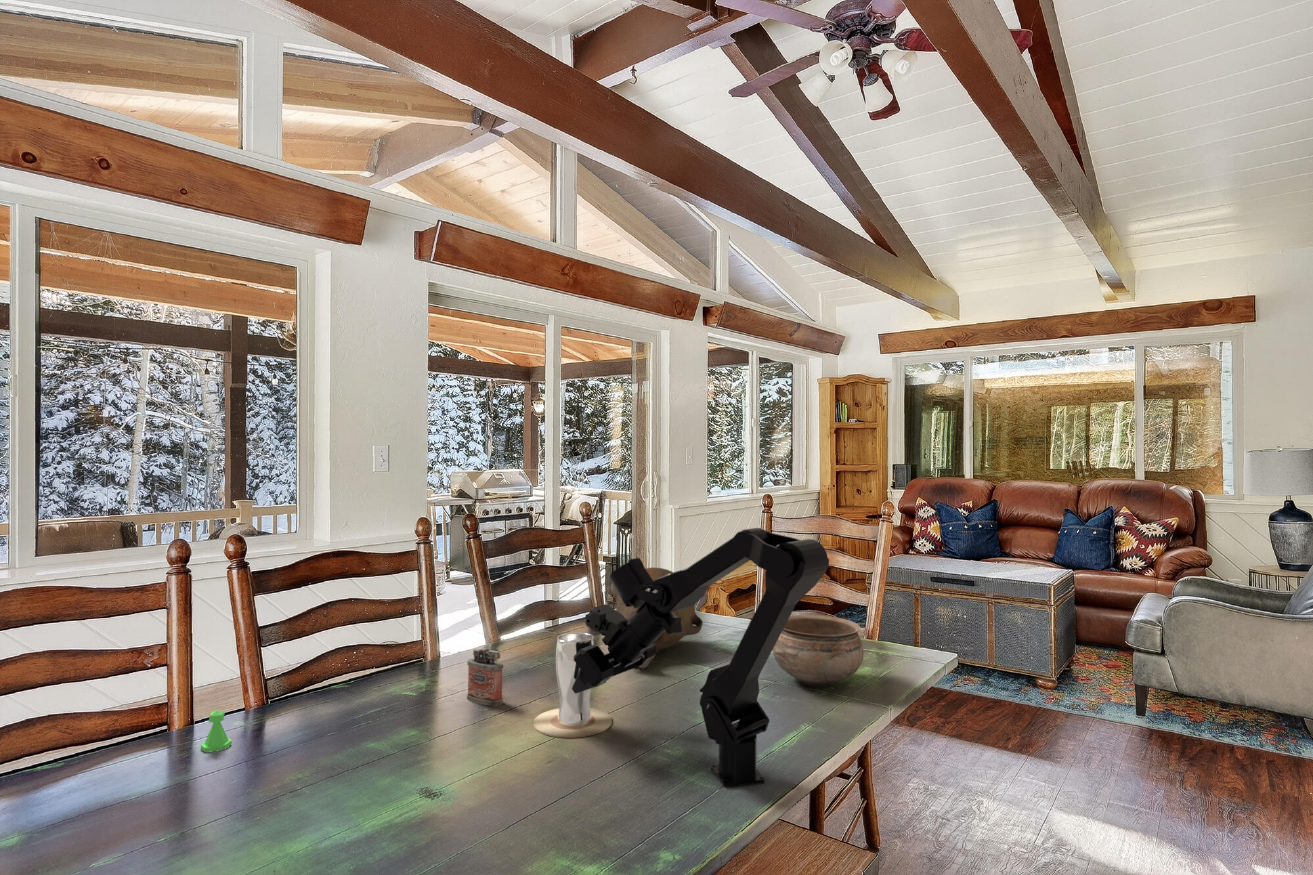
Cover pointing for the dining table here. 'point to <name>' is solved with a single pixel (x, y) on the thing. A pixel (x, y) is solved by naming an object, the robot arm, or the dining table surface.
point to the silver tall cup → (571, 680)
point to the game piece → (216, 734)
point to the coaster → (551, 727)
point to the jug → (686, 614)
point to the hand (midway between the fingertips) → (589, 683)
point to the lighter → (485, 678)
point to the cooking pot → (819, 649)
